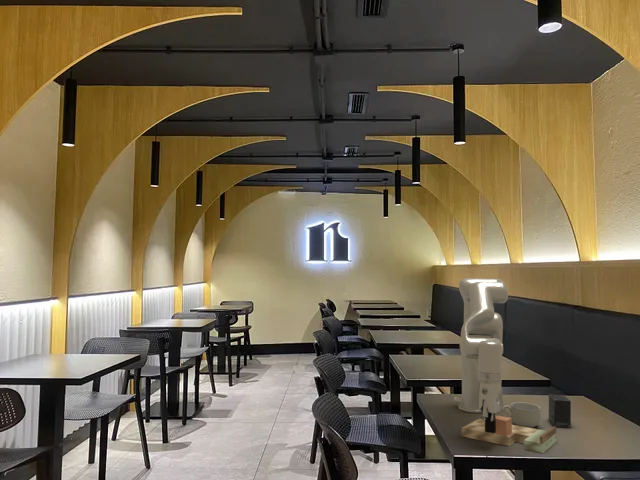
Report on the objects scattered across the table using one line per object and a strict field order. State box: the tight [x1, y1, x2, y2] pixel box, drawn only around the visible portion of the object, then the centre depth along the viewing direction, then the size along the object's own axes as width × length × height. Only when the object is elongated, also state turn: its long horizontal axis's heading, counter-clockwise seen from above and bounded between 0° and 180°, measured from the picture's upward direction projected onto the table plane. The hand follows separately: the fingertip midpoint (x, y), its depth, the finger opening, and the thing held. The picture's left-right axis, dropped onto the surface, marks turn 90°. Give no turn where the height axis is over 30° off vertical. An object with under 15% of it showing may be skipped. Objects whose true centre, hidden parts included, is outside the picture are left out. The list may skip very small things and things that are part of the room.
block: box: [495, 415, 513, 436], centre depth 188 cm, size 5×5×5 cm
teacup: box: [501, 401, 541, 429], centre depth 208 cm, size 14×11×8 cm
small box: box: [548, 393, 572, 429], centre depth 211 cm, size 11×6×10 cm, turn 168°
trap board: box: [461, 418, 558, 454], centre depth 191 cm, size 28×16×5 cm, turn 52°
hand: (490, 432), depth 183 cm, fingers closed
